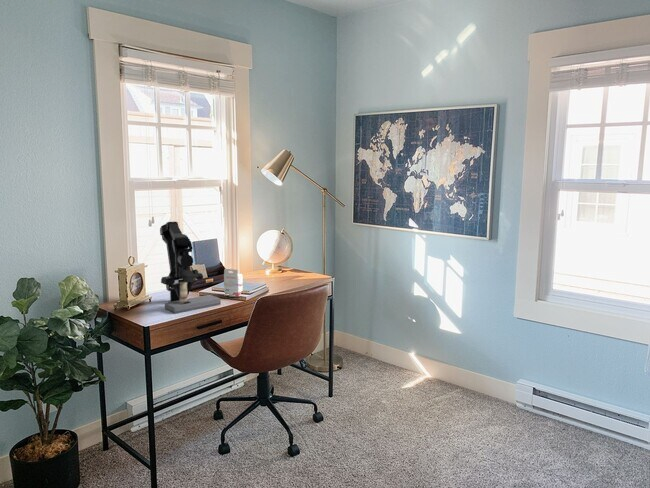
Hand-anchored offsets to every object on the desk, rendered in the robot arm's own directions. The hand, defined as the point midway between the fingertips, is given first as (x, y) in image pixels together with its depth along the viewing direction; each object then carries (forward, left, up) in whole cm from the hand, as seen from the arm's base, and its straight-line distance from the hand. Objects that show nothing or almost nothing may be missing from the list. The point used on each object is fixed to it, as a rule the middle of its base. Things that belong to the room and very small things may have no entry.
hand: (183, 296), depth 247 cm
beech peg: (0, 0, -2) cm, 3 cm away
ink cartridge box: (-24, +19, -6) cm, 31 cm away
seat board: (-3, +4, -6) cm, 8 cm away
